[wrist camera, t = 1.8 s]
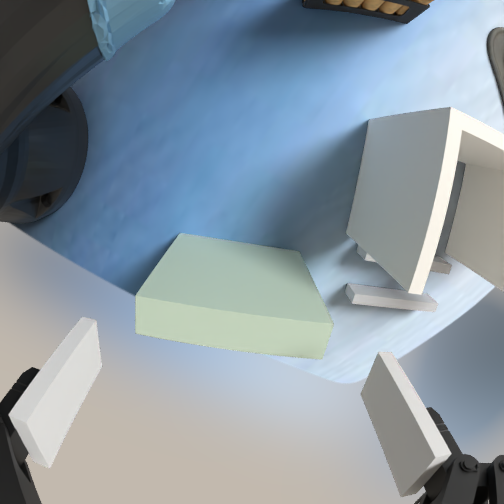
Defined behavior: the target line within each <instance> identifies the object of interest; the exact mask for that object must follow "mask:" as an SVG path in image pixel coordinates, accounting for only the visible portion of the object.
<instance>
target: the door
mask: <svg viewBox="0 0 504 504" xmlns="http://www.w3.org/2000/svg"><path fill="white" fill-rule="evenodd" d="M135 301H136V302H135V312H136V313H135V330H136V334H140V335H145V336H150V337H155V338H161V339H166V340H172V341H177V342H183V343H189V344H195V345H201V346H207V347H214V348H221V349H228V350H235V351H243V352H252V353H259V354H268V355H277V356H287V357H298V358H310V359H322V358H323V356H324V353H325V350H326V347H327V344H328V341H329V338H330V335H331V332H332V329H333V325H334V323H333V321H332V319H331V317H330V315H329V312H328V310H327V308H326V306H325V304H324V302H323V300H322V298H321V295H320V293H319V291H318V289H317V287H316V285H315V283H314V281H313V279H312V277H311V275H310V272H309V270H308V268H307V266H306V264H305V262H304V260H303V258H302V256H301V254H300V252H299V251H294V250H288V249H281V248H275V247H269V246H262V245H256V244H249V243H243V242H236V241H230V240H223V239H217V238H210V237H204V236H197V235H191V234H184V233H180V234H179V235H178V236H177V238H176V239H175V240H174V242H173V243H172V245H171V246H170V247H169V249H168V250H167V251H166V253H165V254H164V256H163V257H162V258H161V260H160V261H159V263H158V264H157V265H156V267H155V268H154V270H153V271H152V272H151V274H150V275H149V277H148V278H147V280H146V281H145V282H144V284H143V285H142V287H141V288H140V290H139V291H138V293H137V294H136V296H135Z"/></svg>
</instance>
